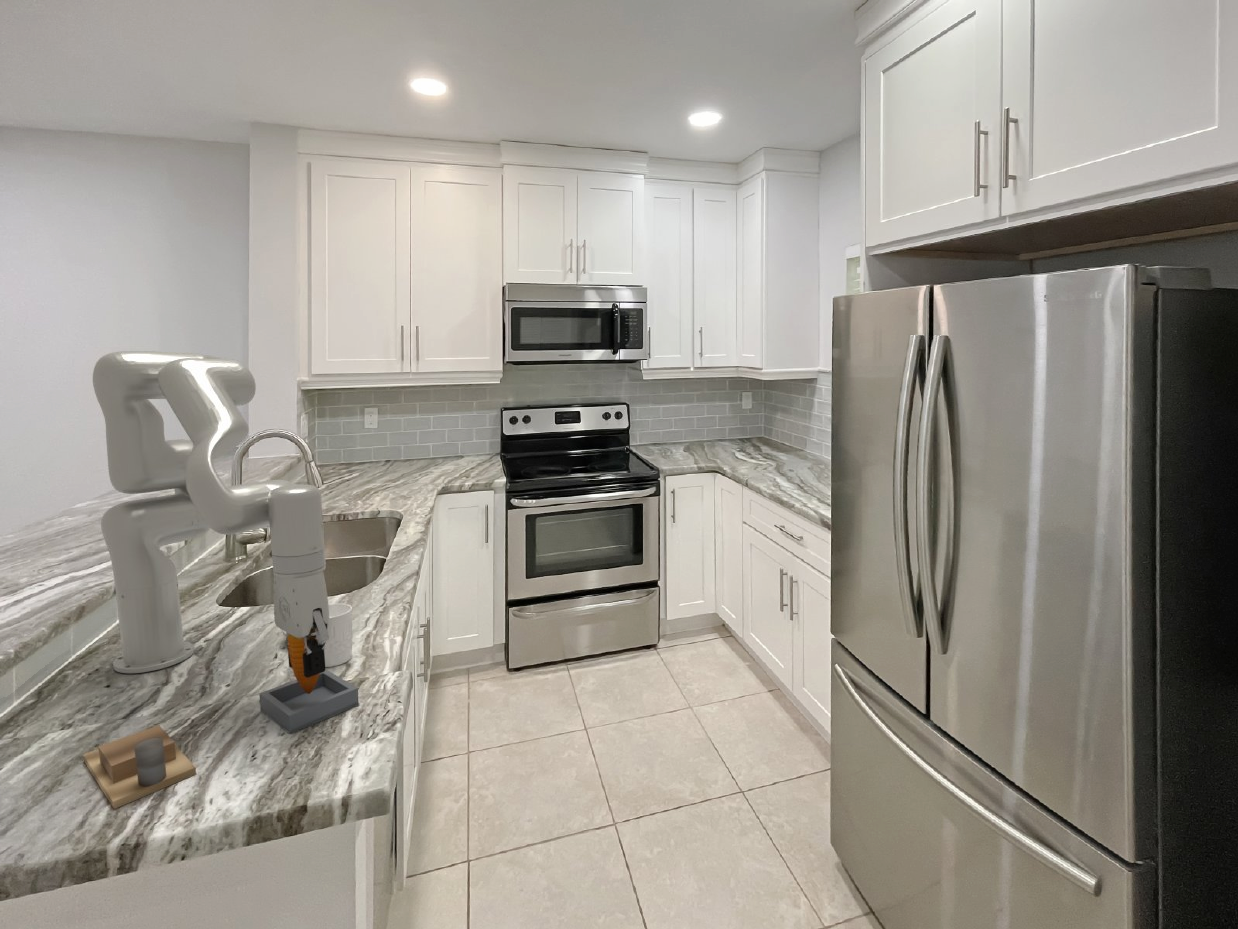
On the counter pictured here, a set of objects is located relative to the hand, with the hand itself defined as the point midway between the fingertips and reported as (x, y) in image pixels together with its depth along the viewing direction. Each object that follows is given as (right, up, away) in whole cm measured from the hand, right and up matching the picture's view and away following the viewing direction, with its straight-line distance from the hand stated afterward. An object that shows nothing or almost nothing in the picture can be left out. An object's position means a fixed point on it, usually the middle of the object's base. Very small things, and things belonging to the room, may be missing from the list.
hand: (307, 668), depth 101 cm
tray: (0, -7, +1) cm, 7 cm away
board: (-16, -9, -15) cm, 24 cm away
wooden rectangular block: (-16, -8, -15) cm, 23 cm away
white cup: (-4, -5, +19) cm, 20 cm away
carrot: (0, -4, +1) cm, 5 cm away
